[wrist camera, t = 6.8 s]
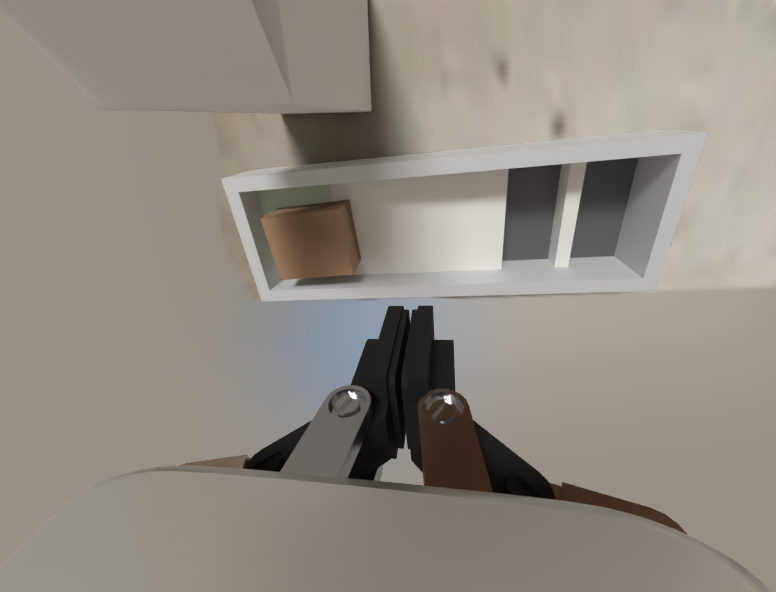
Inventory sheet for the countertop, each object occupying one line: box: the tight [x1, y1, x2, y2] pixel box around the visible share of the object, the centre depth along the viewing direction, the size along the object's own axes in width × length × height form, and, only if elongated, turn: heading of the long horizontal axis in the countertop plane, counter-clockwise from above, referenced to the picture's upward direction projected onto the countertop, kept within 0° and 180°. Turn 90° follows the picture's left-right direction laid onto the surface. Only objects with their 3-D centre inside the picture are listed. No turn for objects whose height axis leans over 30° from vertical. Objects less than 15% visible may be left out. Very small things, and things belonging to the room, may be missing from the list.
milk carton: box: [0, 0, 371, 114], centre depth 14 cm, size 7×7×19 cm
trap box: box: [221, 130, 708, 301], centre depth 25 cm, size 30×10×4 cm, turn 96°
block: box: [260, 199, 361, 280], centre depth 25 cm, size 6×5×3 cm
